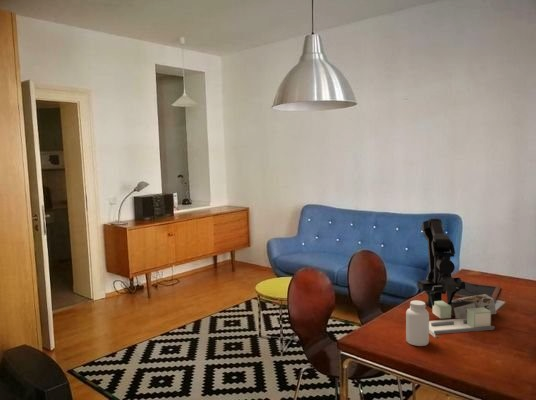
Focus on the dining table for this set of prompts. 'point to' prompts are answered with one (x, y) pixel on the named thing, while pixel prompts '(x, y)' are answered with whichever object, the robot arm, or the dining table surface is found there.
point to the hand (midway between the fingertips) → (441, 304)
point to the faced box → (478, 317)
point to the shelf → (453, 327)
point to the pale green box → (441, 309)
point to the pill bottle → (417, 324)
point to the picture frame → (478, 290)
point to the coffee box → (471, 305)
